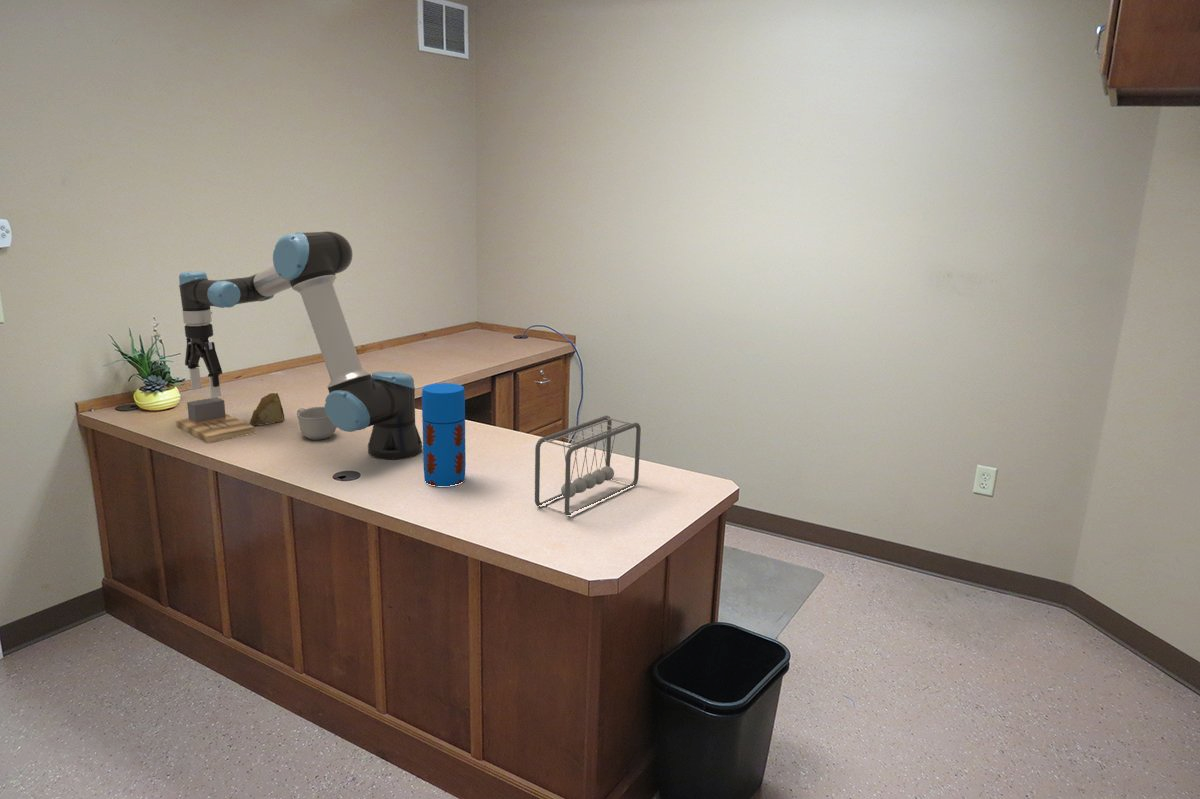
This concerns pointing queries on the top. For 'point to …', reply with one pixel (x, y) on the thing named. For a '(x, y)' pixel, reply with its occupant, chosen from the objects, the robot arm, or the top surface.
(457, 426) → the thermos
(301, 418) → the teacup
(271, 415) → the rock
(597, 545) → the top surface
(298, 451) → the top surface
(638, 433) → the newton's cradle
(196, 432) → the board
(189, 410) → the block
